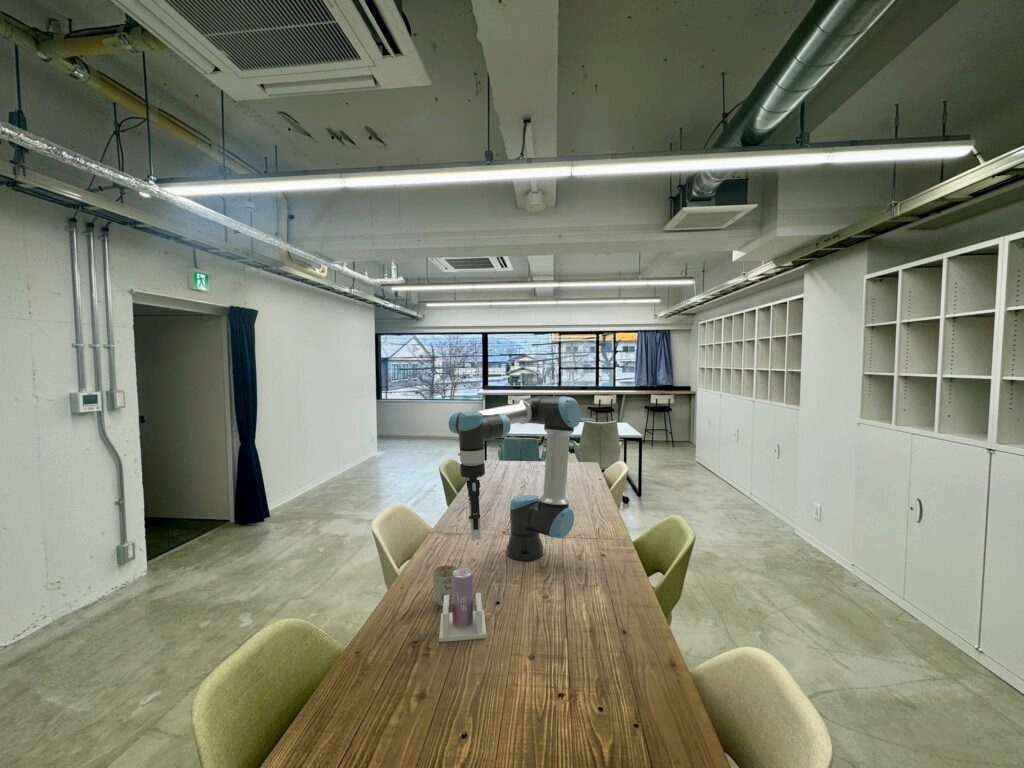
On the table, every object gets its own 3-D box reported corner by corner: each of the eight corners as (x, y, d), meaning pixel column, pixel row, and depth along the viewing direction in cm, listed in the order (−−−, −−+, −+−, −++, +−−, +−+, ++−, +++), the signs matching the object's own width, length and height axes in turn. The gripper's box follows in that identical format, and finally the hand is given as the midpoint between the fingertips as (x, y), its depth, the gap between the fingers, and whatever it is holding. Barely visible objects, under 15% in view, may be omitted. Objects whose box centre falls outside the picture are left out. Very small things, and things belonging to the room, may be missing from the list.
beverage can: (473, 616, 127) (473, 567, 126) (472, 629, 121) (471, 577, 120) (453, 617, 126) (453, 567, 126) (451, 629, 120) (450, 577, 120)
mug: (434, 610, 132) (433, 578, 132) (430, 590, 144) (430, 561, 144) (460, 606, 135) (460, 575, 134) (455, 587, 147) (454, 558, 146)
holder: (441, 617, 129) (440, 593, 128) (483, 613, 130) (483, 590, 130) (439, 642, 117) (438, 616, 117) (486, 638, 118) (486, 612, 118)
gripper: (459, 454, 142) (462, 516, 143) (460, 474, 118) (463, 548, 119) (481, 453, 143) (484, 514, 144) (487, 472, 119) (490, 546, 120)
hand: (474, 530), depth 132 cm, fingers open, 13 cm apart
